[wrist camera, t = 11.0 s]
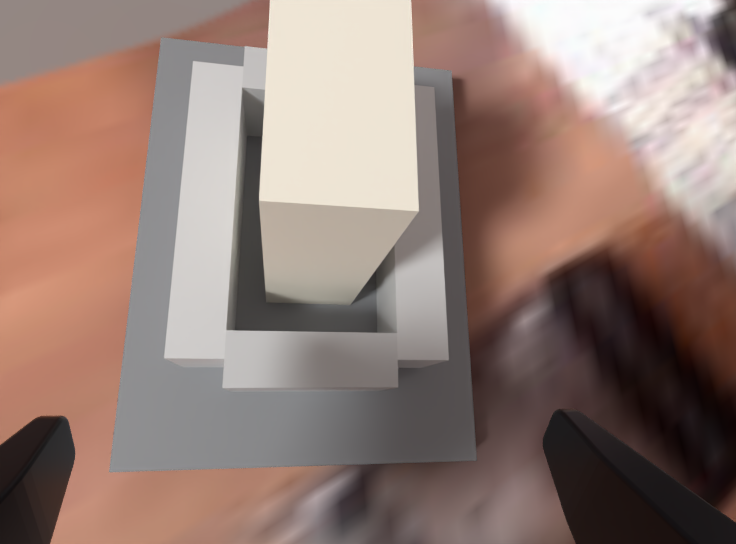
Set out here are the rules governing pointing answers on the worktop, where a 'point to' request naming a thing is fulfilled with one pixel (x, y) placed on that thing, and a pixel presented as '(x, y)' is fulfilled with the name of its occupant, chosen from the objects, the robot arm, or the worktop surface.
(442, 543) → the worktop surface
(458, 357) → the hinge base
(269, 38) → the cream rectangular block
